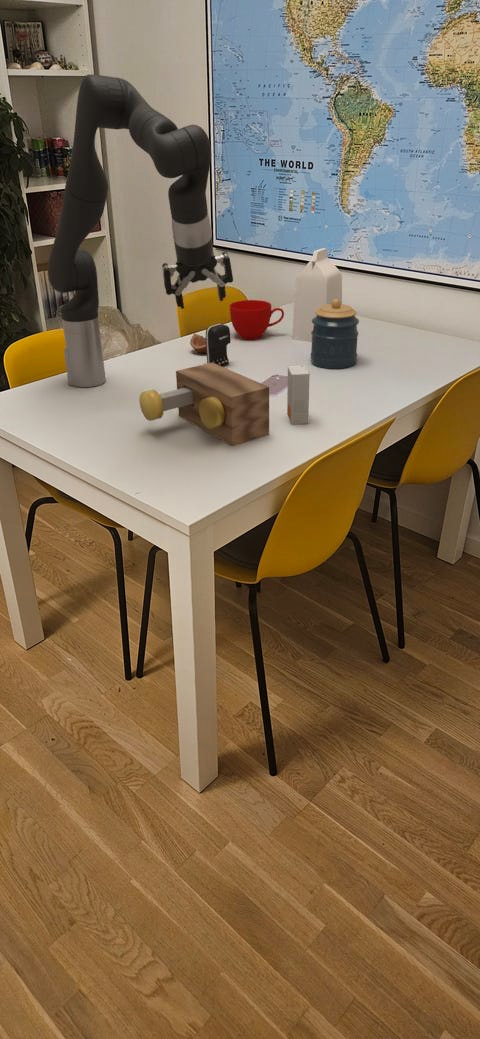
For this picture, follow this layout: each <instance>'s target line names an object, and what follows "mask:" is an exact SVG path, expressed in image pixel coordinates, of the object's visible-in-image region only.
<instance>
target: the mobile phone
mask: <svg viewBox="0 0 480 1039" xmlns="http://www.w3.org/2000/svg"><path fill="white" fill-rule="evenodd" d="M260 383H261V384H263V385H266V386H268V387H269V397H270V396H271V397H273V398H274V396H275V397H278V394H279V395H280V394H281V393H283V392H284V391H287V390H288V375H281V374H274V375H271V376H270V377H268V378H267V379H266V380H264V381H262V382H260ZM271 397H270V398H271Z"/></svg>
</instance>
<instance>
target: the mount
mask: <svg viewBox="0 0 480 1039" xmlns="http://www.w3.org/2000/svg"><path fill="white" fill-rule="evenodd" d="M175 377H176V378H175V379H176V390H177V389H181V388H185V387H190V388H192V389H193V397H194V403H193V404H190V405H186V406H182V407H178V408H177V410H178V417H180V418H181V419H183V420H185V421H187V422H188V423H190V424H192V425H194V426H196V427H198V428H200V429H201V430H203V431H205V432H206V433H208V434H210V435H212V436H214V437H216V438H217V439H220V440H221V441H223V442H225V443H227V444H228V445H231V446H232V447H233V446H237V445H241V444H243V443H246V442H249V441H254V440H255V439H259V438H262V437H266V436H269V435H270V396H269V387H268V386H266V385H263V384H261V383H262V382H258V381H256V380H254V379H251V378H249V377H247V376H244V375H242V374H240V373H237V372H235V371H234V370H230V369H228V368H227V367H225V366H223V367H222V366H219V365H217V364H215V363H207V362H206V363H204V364H199V365H196V366H192V367H188V368H184V369H179V370H178V369H177V370H175Z"/></svg>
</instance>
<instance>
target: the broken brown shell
mask: <svg viewBox="0 0 480 1039" xmlns="http://www.w3.org/2000/svg"><path fill="white" fill-rule="evenodd" d="M189 344H190V346H191V348H192V349H193V350H194V351H196V352H199V353H202V354H205V353H206V354H207V352H206V337H205V336H204V337H203V335H200V334H197V333H193V335H192V337H191V338H190V343H189Z"/></svg>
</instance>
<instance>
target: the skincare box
mask: <svg viewBox="0 0 480 1039" xmlns="http://www.w3.org/2000/svg"><path fill="white" fill-rule="evenodd" d="M287 376H288V388H287V393H286V394H287V397H286V398H287V401H286V402H287V403H286V404H287V405H286V406H287V410H286V411H287V412H286V414H287V417H288V420H289V422H290V424H291V425H300V424H301V425H302V424H303V425H304V424H305V425H307V424H309V416H310V415H309V412H310V411H309V409H310V372H309V370H308V368H307V366H306V365H288V366H287Z"/></svg>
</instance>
